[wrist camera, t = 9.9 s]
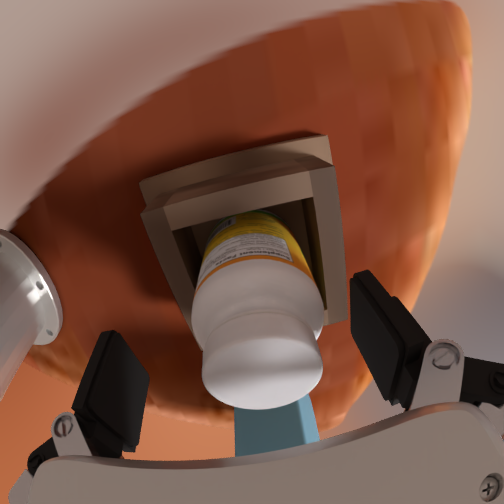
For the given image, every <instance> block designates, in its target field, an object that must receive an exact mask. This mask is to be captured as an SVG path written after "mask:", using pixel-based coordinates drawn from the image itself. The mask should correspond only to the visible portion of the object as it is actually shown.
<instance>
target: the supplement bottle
mask: <svg viewBox="0 0 504 504" xmlns="http://www.w3.org/2000/svg"><path fill="white" fill-rule="evenodd" d="M191 322H192V328H193V332H194V335H195V337H196V340H197V341H198V343H199V345H200V346H201V347H202V349H203V364H202V380H203V383H204V386H205V387H206V389H207V390H208V392H209V393H210V394H211V395H212V396H214V397H215V398H216V399H218V400H219V401H221V402H223V403H225V404H228V405H231V406H234V407H238V408H243V409H255V410H259V409H270V408H276V407H280V406H284V405H287V404H290V403H292V402H294V401H296V400H299V399H300V398H302V397H304V396H305V395H306V394H308V393H309V392H310V391H311V390H312V389H313V388H314V387H315V386H316V385H317V383H318V382H319V380H320V378H321V375H322V371H323V363H322V358H321V354H320V351H319V348H318V344H317V341H316V340H317V338H318V336H319V335H320V332H321V330H322V326H323V322H324V307H323V302H322V299H321V296H320V293H319V290H318V288H317V286H316V283H315V281H314V279H313V276H312V274H311V272H310V269H309V267H308V265H307V263H306V260H305V258H304V256H303V253H302V251H301V249H300V247H299V244H298V242H297V240H296V238H295V236H294V234H293V232H292V230H291V229H290V227H289V226H288V225H287V223H286V222H285V221H284V220H283V219H281V218H280V217H279V216H277V215H275V214H274V213H271V212H269V211H266V210H262V209H256V210H251V211H247V212H243V213H239V214H235V215H231V216H227V217H224V218H222V219H221V220H220V221H219V222H218V223H217V224H216V225H215V226H214V228H213V229H212V231H211V233H210V235H209V237H208V240H207V243H206V247H205V251H204V255H203V260H202V264H201V269H200V273H199V277H198V282H197V286H196V291H195V295H194V300H193V307H192V316H191Z"/></svg>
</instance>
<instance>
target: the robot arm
mask: <svg viewBox="0 0 504 504" xmlns="http://www.w3.org/2000/svg"><path fill="white" fill-rule="evenodd" d="M350 314H351V334H352V337H353V339H354V341H355V342H356V344H357V346H358V348H359V350H360V352H361V354H362V356H363V358H364V360H365V362H366V364H367V366H368V368H369V370H370V372H371V374H372V376H373V378H374V380H375V382H376V384H377V386H378V388H379V390H380V392H381V394H382V396H383V398H384V400H385V401H387V400H389V401H390V403H391V405H392V406H393V405H395V404H398V403H400V404H401V406H402V407H403V408H405V410H404V412H403V413H401V414H398V415H395V416H393V417H390V418H387V419H384V420H381V421H379V422H376V423H373V424H371V425H368V426H365V427H362V428H360V429H357V430H353V431H350V432H347V433H344V434H340V435H337V436H334V437H331V438H327V439H324V440H320V441H316V442H312V443H308V444H304V445H300V446H296V447H291V448H287V449H282V450H277V451H271V452H265V453H260V454H253V455H246V456H239V457H230V458H220V459H208V460H189V461H147V460H130V459H124V457H123V456H122V450H123V451H124V452H135V449H136V446H137V445H138V444H139V439H140V432H141V426H142V419H143V413H144V408H145V402H146V397H147V391H148V386H149V375H148V373H147V371H146V370H145V369H144V367H143V366H142V365H141V363H140V362H139V360H138V359H137V358H136V356H135V355H134V353H133V352H132V351H131V349H130V348H129V346H128V345H127V343H126V342H125V340H124V339H123V337H122V336H121V334H120V333H117V332H116V331H115V330H110V331H105V332H102V333H101V334H100V336H99V338H98V341H97V343H96V345H95V348H94V350H93V352H92V355H91V357H90V360H89V362H88V365H87V367H86V370H85V372H84V375H83V377H82V380H81V382H80V385H79V388H78V390H77V393H76V396H75V399H74V402H73V405H72V407H71V408H72V409H73V410H74V411H75V413H74V415H73V414H72V413H70V412H64V413H61V414H60V415H58V416H57V417H56V418H55V420H54V421H53V423H52V427H51V433H52V437H51V438H50V439H49V440H47V441H46V442H45V443H43V444H42V445H41V446H39V447H38V448H37V449H36V450H34V451H33V452H32V453H31V454H30V456H29V458H28V462H27V466H28V470H27V469H25V471H24V472H23V473H22V475H21V476H20V477H19V479H18V480H17V482H16V483H15V484H14V486H13V487H12V489H11V490H10V492H9V496H8V499H9V503H10V504H504V364H501V363H495V362H490V361H484V360H480V359H474V358H470V357H465V356H464V352H463V350H462V348H461V347H460V346H459V345H458V344H457V343H456V342H454V341H452V340H449V339H439V340H435V341H434V342H432V341H431V340H430V338H429V337H428V336H427V334H426V333H425V332H424V330H423V329H422V328H421V327H420V325H419V324H418V323H417V321H416V320H415V319H414V318H413V316H412V315H411V314H410V313H409V311H408V310H407V309H406V308H405V306H404V305H403V304H402V303H401V301H400V300H399V299H398V298H397V297H395V296H393V297H391V296H390V295H389V293H388V292H387V291H386V290H385V289H384V287H383V286H382V285H381V284H380V282H379V281H378V280H377V279H376V278H375V276H374V275H373V274H372V273H371V272H370V271H369V270H364V271H361V272H358V273H355V274H354V276H353V278H351V279H350ZM62 321H63V315H62V307H61V303H60V299H59V296H58V294H57V291H56V289H55V286H54V284H53V282H52V280H51V278H50V276H49V274H48V273H47V271H46V270H45V268H44V267H43V265H42V263H41V262H40V261H39V260H38V258H37V257H36V256H35V254H34V253H33V252H32V251H31V250H30V249H29V248H28V247H27V246H26V245H25V243H23V242H22V241H21V240H20V239H18V238H17V237H16V236H15V235H13V234H11V233H9V232H8V231H6V230H2V229H0V401H1V399H2V397H3V395H4V393H5V391H6V390H7V388H8V386H9V384H10V382H11V380H12V378H13V377H14V375H15V373H16V371H17V370H18V368H19V366H20V364H21V363H22V361H23V359H24V358H25V356H26V354H27V353H28V351H29V349H30V348H31V346H32V345H33V344H37V345H45V344H49V343H50V342H52V341H54V339H55V338H56V336H57V335H58V333H59V331H60V329H61V327H62ZM499 434H500V435H501V436H500V435H499ZM501 437H502V438H501ZM502 439H503V440H502Z"/></svg>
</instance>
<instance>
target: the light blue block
mask: <svg viewBox="0 0 504 504" xmlns="http://www.w3.org/2000/svg"><path fill="white" fill-rule="evenodd" d="M234 422H235V457H239V456H246V455H253V454H260V453H265V452H271V451H277V450H282V449H287V448H291V447H296V446H300V445H304V444H308V443H312V442H316V441H320V439H319V434H318V429H317V425H316V420H315V416H314V412H313V407H312V404H311V400H310V397H309V395H308V394H306V395H305V396H304V397H302V398H300V399H299V400H296V401H294V402H292V403H290V404H287V405H284V406H280V407H276V408H270V409H259V410H255V409H243V408H238V407H234Z"/></svg>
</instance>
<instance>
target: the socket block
mask: <svg viewBox="0 0 504 504" xmlns="http://www.w3.org/2000/svg"><path fill="white" fill-rule="evenodd" d="M139 186H140V189H141V192H142V195H143V197H144V200H145V203H146V206H147V207H146V208H145V209H144V210H143V211H142V212H141V214H140V216H141V218H142V221H143V224H144V226H145V229H146V231H147V234H148V236H149V239H150V241H151V244H152V246H153V249H154V251H155V254H156V256H157V258H158V261H159V263H160V265H161V268H162V270H163V272H164V275H165V277H166V279H167V281H168V284H169V286H170V288H171V290H172V292H173V295H174V297H175V299H176V301H177V303H178V305H179V307H180V309H181V312H182V314H183V316H184V318H185V320H186V322H187V324H188V326H189V328H190V330H191V332H192V334H193V336H194V338H195V340H196V337H195V335H194V332H193V328H192V322H191V316H192V307H193V300H194V295H195V291H196V286H197V282H198V277H199V273H200V269H201V264H202V260H203V255H204V251H205V247H206V243H207V240H208V237H209V235H210V233H211V231H212V229H213V228H214V226H215V225H216V224H217V223H218V222H219V221H220V220H221V219H222V218H224V217H227V216H231V215H235V214H239V213H243V212H247V211H251V210H256V209H262V210H266V211H269V212H271V213H274V214H275V215H277V216H279V217H280V218H281V219H283V220H284V221H285V222H286V223H287V225H288V226H289V227H290V229H291V230H292V232H293V234H294V236H295V238H296V240H297V242H298V244H299V247H300V249H301V251H302V253H303V256H304V258H305V260H306V263H307V265H308V267H309V269H310V272H311V274H312V276H313V279H314V281H315V283H316V286H317V288H318V290H319V293H320V296H321V299H322V302H323V307H324V322H323V326H325V325H329V324H333V323H337V322H340V321H344V320H347V319H348V313H347V285H346V267H345V253H344V241H343V230H342V220H341V211H340V202H339V194H338V187H337V179H336V172H335V166H334V165H333V164H332V158H331V152H330V146H329V140H328V136H327V135H323V134H322V135H316V136H310V137H304V138H299V139H293V140H288V141H283V142H278V143H273V144H269V145H264V146H259V147H255V148H251V149H246V150H242V151H238V152H234V153H230V154H226V155H222V156H218V157H215V158H211V159H207V160H204V161H200V162H197V163H193V164H190V165H186V166H183V167H180V168H177V169H173V170H170V171H167V172H164V173H161V174H158V175H155V176H152V177H149V178H146V179H144V180H142V181H141V182H139ZM196 342H197V344H198V345H199V343H198V341H197V340H196ZM199 347H200V349H201V351H203V349H202V347H201V346H200V345H199Z"/></svg>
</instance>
